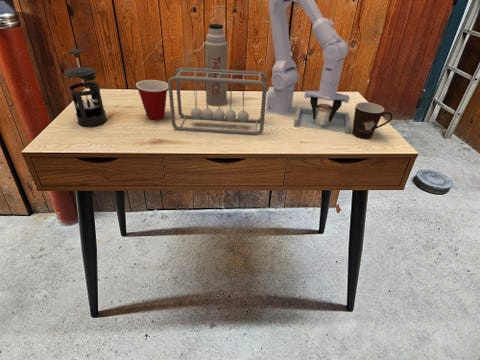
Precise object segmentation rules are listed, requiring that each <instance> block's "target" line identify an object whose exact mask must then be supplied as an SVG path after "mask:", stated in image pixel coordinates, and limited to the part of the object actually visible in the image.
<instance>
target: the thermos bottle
mask: <svg viewBox="0 0 480 360" xmlns="http://www.w3.org/2000/svg"><path fill="white" fill-rule="evenodd" d="M208 28H209V29H208V34H206V41H205V42H204V59H205V60H204V61H205V63H204V64H205V65H204V66H205V68H204V69H220V70H228V42H227V41H226V35H225V34H224V29H223V28H224V25H223V24H220V23H211V24H208ZM227 75H228V74H215V73H205V77H208V78H218V77H219V78H225V79H228V76H227ZM227 84H228V83H219V90H220V107H221V106H225V105H226V104H227V103H228V102H227V100H228V99H227V96H228V85H227ZM206 88H207V96H206V95H205V98H206V99H205V100H206V105H207V104H208V106H212V107H219V99H218V83H214V82H205V89H206Z"/></svg>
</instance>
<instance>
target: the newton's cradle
mask: <svg viewBox="0 0 480 360" xmlns="http://www.w3.org/2000/svg"><path fill="white" fill-rule="evenodd" d="M183 72H184V73H194V75H192V76H189V75H188V76H187V75H186V76H184V75H180V74H181V73H183ZM197 73H199V74H200V73H202V74H203V73H204V74H206V73H215V74H227V75H230V76H231V77H230V78H227V79H225V78H219V77H218V78H208V77H206V76H195V75H197ZM233 75H234V76H251V77H258V80H255V79H245V77H242V79H240V78H233ZM261 77H262V79H263V80H261ZM174 81H175V86H176V87H175V88H176V99H177V111H178V115H179V116H180V117H181V118H183V120H182V121H181V124H180V125H179V126H178V125H177V124H176V115H175V106H174V105H175V103H174V91H173V82H174ZM180 81H183V82H184V81H185V82H193V84H195V87H193V91H194V95H195V98H194V104H195V105H194V106H195V107H194V108H192V109H191V110H190V115H185V114H184V113H183V110H182V100H181V87H180V86H181V85H180ZM267 81H268V76H267V75H266V73H264V72H262V71H254V70H253V71H251V70H233V69H227V70H220V69H205V68H204V67H203V68H201V67H200V68H199V67H184V66H183V67H182V66H181V67H178V68H177V69H176V70H175V75H174V76H171V77H169V78H168V81H167V83H168V97H169V105H170V119H171V126H172V127H173V128H174V129H175V130H177V131H182V132H183V131H186V132H202V133H217V134H229V135H230V134H233V135H236V134H237V135H249V136H250V135H251V136H258V135H261V134H263V131H264V128H265V127H264V125H265V118H266V117H265V115H266V104H267V95H268V89H267V88H268V87H267V84H268V83H267ZM197 82H199V83H206V82H214V83H218V99H219V106H218V109H215V111H213V110H212V109H211V108H209V104H207V103H206V107H207V108H205V109H203V111H202V109H200V108H199V107H198V105H197V104H198V103H197V102H198V101H197V100H198V98H197V96H198V95H197V94H198V93H197ZM219 83H227V84H230V86H229V87H230V104H229V105H230V109H228V110H226V112H225V111H224V110H223V109H221V106H220V90H219ZM234 84H235V85H236V84H237V85H249V86H261V87H262V92H261V93H262V94H261V105H260V106H261V108H260V117H259V119H258V118H257V119H253V118H252V119H251V118H250V117H249V116H250V115H249V114H250V113H248V111H246V110H244V109H245V108H244V105H245V102H244V101H245V92H242V110H240V111H238V114H236V112H235V110H232V97H233V96H232V95H233V94H232V92H233V88H232V87H233V85H234ZM205 94H206V95H205V97H206V96H207V88H206V87H205ZM186 119H187V120H189V119H190V120H202V121H203V120H204V121H205V120H206V121H207V120H208V121H219V122H220V121H222V122H239V123H250V124H251V123H254V124H255V131H252V130H251V131H249V130H232V129H218V128H203V127H189V126H188V127H187V126H182V125H183V124H184V122H185V120H186ZM258 124H259V130H258ZM257 130H258V131H257Z"/></svg>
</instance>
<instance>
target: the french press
mask: <svg viewBox="0 0 480 360" xmlns="http://www.w3.org/2000/svg"><path fill="white" fill-rule="evenodd" d="M83 52H84V50H81V49H71V50H68V51H67V53H68V54H70V55H73V56H74V58H75V59H76V62H77V66H78V67H72V68H70V69H67V70H64V75H65V76H66V78H67V80H68V81H69V80H70V79H71V78H77V79H78V78H79V79H81V81H82V82H77V83H74V84H72V85H70V86H69V87H68V90H69V94H70V95H71V97H72V101H73V104H74V108H75V111H76V113H75V116H76V119H77V125H78V126H79V127H83V128H96V127H101V126H102V125H104V124H106V123H107V122H108V117H107V114H106V110H105V108H104V103H103V100H102V96H101V91H100V90H101V88H100V84H99V83H98V82H97V81H93V80H95V79H96V78H97V76H96V72H97V70H96V69H95V68H94V67H90V66H80V62H79V59H78V58H79V55H78V54H82V53H83ZM84 81H85V82H84ZM86 87H88V89H89V90H87V89H86ZM78 88H83V89H84V90H82V91H77V90H75V89H78ZM82 96H83V97H86V99H83V97H82ZM88 96H90V97H91V98H88Z"/></svg>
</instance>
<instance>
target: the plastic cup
mask: <svg viewBox="0 0 480 360" xmlns="http://www.w3.org/2000/svg"><path fill="white" fill-rule="evenodd" d="M135 88H137V91H138V93H139V94H138V95H139V96H140V99H141V102H142V106H143V110H144V112H145V114H146V117H147V119H148V120H150V121H156V122H157V121H161V120H163V119H164V118H165V114H166V107H167V106H166V103H167V94H168V91H169V88H168V82H165V81H162V80H156V79H145V80H140V81H138V82H136V84H135Z"/></svg>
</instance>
